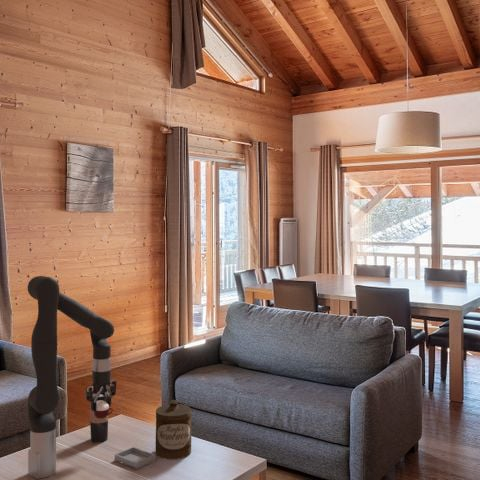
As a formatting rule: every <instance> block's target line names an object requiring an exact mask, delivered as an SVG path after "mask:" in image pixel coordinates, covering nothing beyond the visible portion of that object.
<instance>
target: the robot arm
mask: <svg viewBox="0 0 480 480" xmlns="http://www.w3.org/2000/svg"><path fill="white" fill-rule="evenodd" d="M27 292H28V294H29V296H30V297H31V298H33V299H34V300H36V301H37V308H38V309H37V318H36V323H35V325H34V328H33V331H32V333H31V341H30V342H31V350H30V351H31V352H30V353H31V357H32V364H33V366H34V371H35V376H36V386H35V387H33V388H32V389H31V390H30V392H29V393H28V397H27V415H28V416H27V417H28V423H29V427H30V428H29V429H30V430H29V431H30V435H29V436H30V439H29V440H30V442H29V443H30V445H29V447H30V448H29V449H28V452H27V455H28V456H27V459H28V461H27V467H28V468H27V469H28V470H27V471H28V473H27V474H28V475H29V476H30V477H32V478H34V479H36V480H39V479H45V478H49V477H51V476H53V475H55V474H56V472H57V421H56V418H55V416H54V411H55V410H56V408H57V407H58V404H59V390H58V378H57V367H58V366H57V365H58V311H59V312H61V313H62V314H63V315H65V316H67V317H68V318H69V319H71V320H72V321H74V322H75V323H76V324H78V325H80V326H82V327H83V328H85V329H89V336H90V340H91V343H92V344H91V345H92V363H91V364H92V366H91V374H92V375H91V380H92V385H90V386H86V387H85V395H86V396H85V397H86V401H87V402H91V410H92V411H96V401H97V398H98V397H99V395H100V394H102V393H105V395H106V403H108V405H109V408H111V406H112V397H114V396H115V395H117V393H116V392H117V381H116V380H113V379H112V360H111V355H112V354H111V351H112V348H111V344H110V343H109V342H108V341H107V339H109V338H111V337H112V336H113V335H114V332H115V327H114V325H113V323H112V322H110V320H108V319H106V318H104V317H102V316H101V315H98V314H97V313H95V312H94V311H93V310H91V309H90V308H89V307H86V305H84V304H82V303H80V302H79V301H77V300H75V299H73V298H71V297H69V296H67V295H66V294H64V293H63V292H61V291H60V285H59V282H58V280H56V279H55V278H53V277H49V276H45V275H38V276H34V277H32V278H31V279H30V280H29V281H28V284H27ZM95 393H97V394H95ZM94 397H95V398H94Z"/></svg>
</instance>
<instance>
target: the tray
mask: <svg viewBox="0 0 480 480" xmlns="http://www.w3.org/2000/svg"><path fill="white" fill-rule="evenodd" d="M115 460H116V461H115ZM114 461H115V462H117V461H119V462H118V463H120V462H122V463H123V464H122V463H121V464H122V465H124V464H126V465H125V466H127V465H128V466H127V467H129V466H130V467H129V468H131V467H132V469H134V470H136V469H137V470H139V469H141V468H143V467H145V465H146V466H148V465H150V464H152V463H154V462H156V454H155V453H152V452H149V451H146V450H144V449H141V448H138V447H135V446H132V447H128V448H127V449H125V450H122V451H120V452H116V453H115V454H114ZM147 464H148V465H147ZM138 468H139V469H138Z"/></svg>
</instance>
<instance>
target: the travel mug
mask: <svg viewBox="0 0 480 480" xmlns="http://www.w3.org/2000/svg"><path fill="white" fill-rule="evenodd" d="M95 394H97V393H95ZM94 398H95V397H94ZM99 400H103V401H105V402H106V395H105V393H102V394H100V395H99V397H98V398H97V401H99ZM97 401H96V402H97ZM89 411H90V412H89V413H90V415H89V416H90V417H89V420H90V422H89V423H90V424H89V425H90V427H89V428H90V441H91V442H92V443H95V442H101V443H104V441H105V442H106V441H107V440H108V439H109V438H108V437H109V415H108V416H107V417H105V418H102V419H99V418H97V417H95V415H94V411H92V410H91V402H90V404H89Z"/></svg>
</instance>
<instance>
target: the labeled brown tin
mask: <svg viewBox="0 0 480 480" xmlns="http://www.w3.org/2000/svg"><path fill="white" fill-rule="evenodd" d="M191 453H192V408H191V407H190V406H189V405H185V404H181V403H178V401H177V400H176V399H171V400H170V401H169V403H168V404H163V405H161V406H158V407H157V408H156V409H155V456H157V457H159V458H160V459H164V460H180V459H182V458H183V459H184V458H186V457H188V456H189V455H190V454H191Z"/></svg>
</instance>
